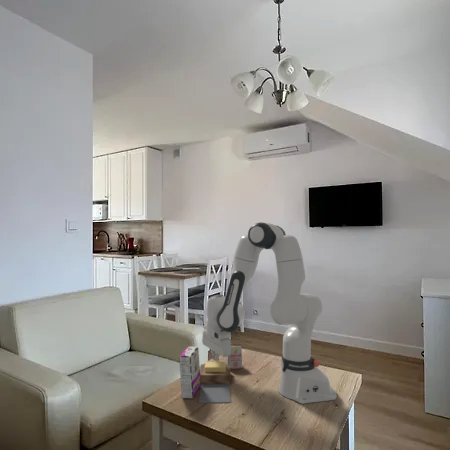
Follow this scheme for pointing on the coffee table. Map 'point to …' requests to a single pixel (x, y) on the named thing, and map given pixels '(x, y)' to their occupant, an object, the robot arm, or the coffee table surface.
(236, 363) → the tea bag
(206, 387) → the mat
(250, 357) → the coffee table surface
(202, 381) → the deck
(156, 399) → the coffee table surface
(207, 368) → the pale yellow rectangular block
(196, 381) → the candy bar box
